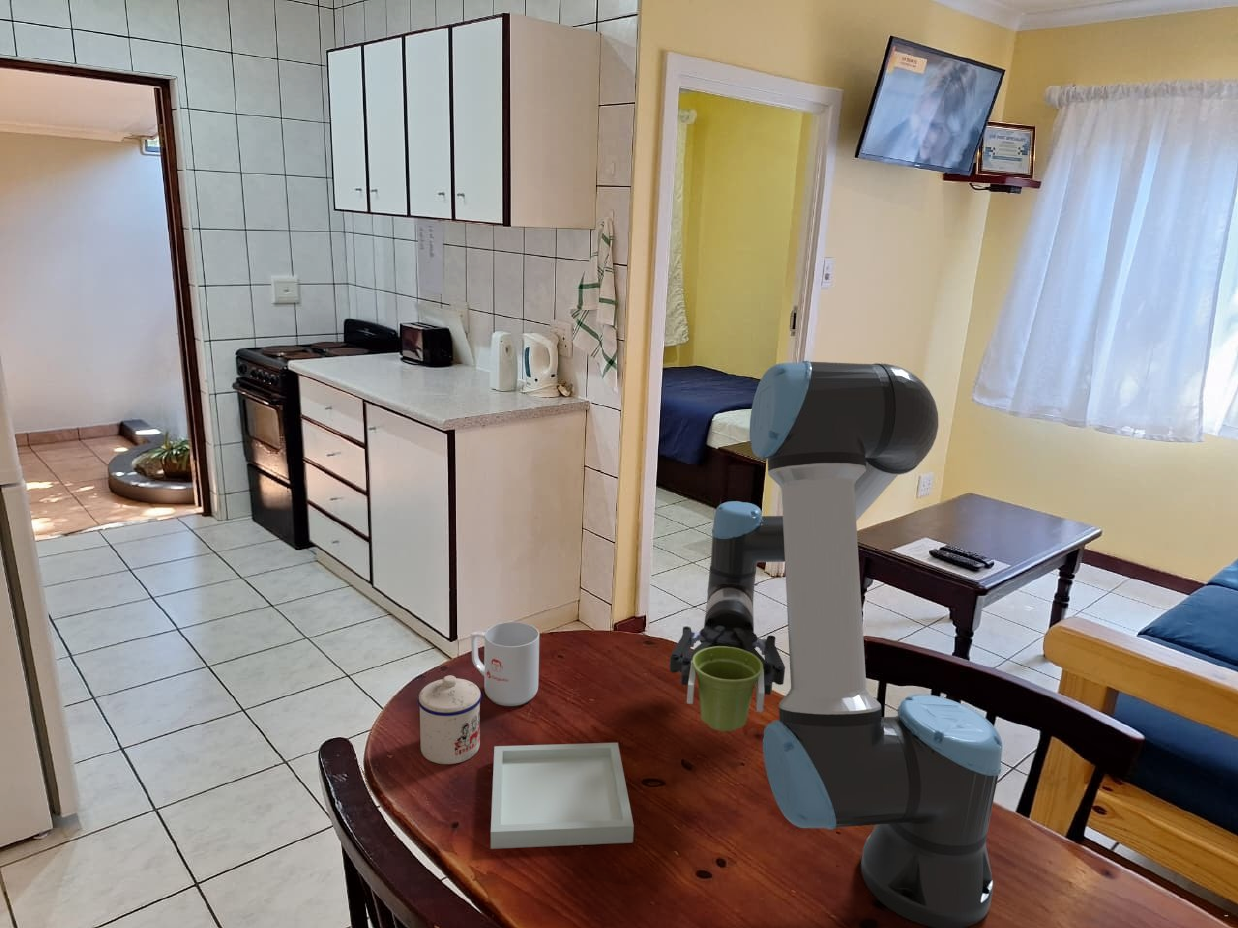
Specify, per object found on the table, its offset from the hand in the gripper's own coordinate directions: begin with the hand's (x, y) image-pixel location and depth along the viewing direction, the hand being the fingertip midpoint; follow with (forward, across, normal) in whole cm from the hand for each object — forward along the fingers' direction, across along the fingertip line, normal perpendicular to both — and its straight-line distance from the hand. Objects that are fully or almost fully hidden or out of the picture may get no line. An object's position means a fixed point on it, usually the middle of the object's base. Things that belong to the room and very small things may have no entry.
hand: (725, 698), depth 110 cm
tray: (+1, +21, -18) cm, 28 cm away
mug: (-24, +36, -18) cm, 47 cm away
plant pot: (-5, 0, -6) cm, 8 cm away
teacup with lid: (-9, +39, -18) cm, 44 cm away
